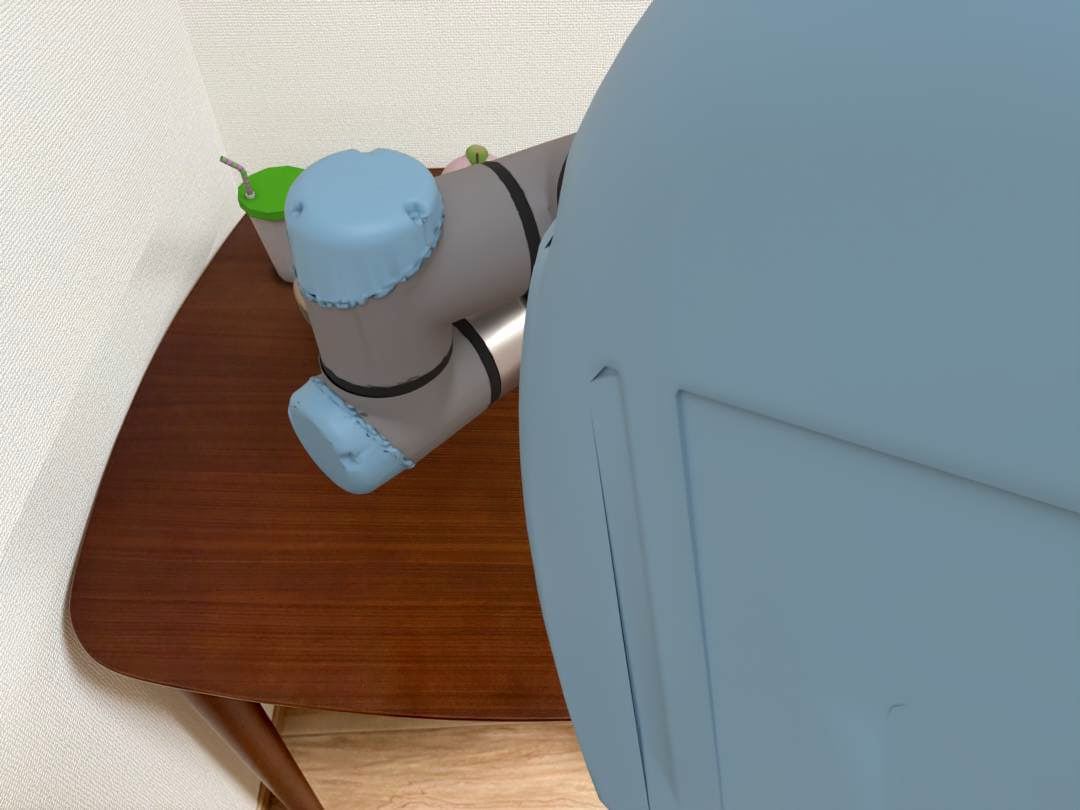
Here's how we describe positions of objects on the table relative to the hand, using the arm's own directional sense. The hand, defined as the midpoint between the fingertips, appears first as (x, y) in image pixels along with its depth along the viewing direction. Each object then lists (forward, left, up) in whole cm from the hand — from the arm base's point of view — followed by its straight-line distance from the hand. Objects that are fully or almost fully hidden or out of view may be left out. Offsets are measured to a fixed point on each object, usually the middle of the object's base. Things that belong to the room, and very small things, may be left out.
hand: (715, 180), depth 65 cm
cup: (+26, +32, -20) cm, 46 cm away
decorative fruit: (+25, +12, -20) cm, 34 cm away
